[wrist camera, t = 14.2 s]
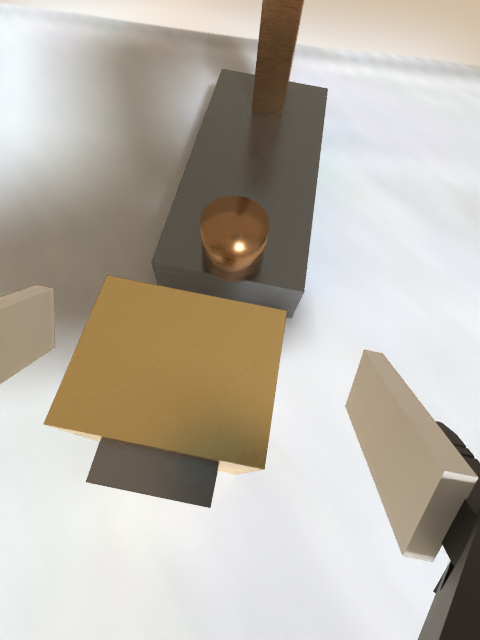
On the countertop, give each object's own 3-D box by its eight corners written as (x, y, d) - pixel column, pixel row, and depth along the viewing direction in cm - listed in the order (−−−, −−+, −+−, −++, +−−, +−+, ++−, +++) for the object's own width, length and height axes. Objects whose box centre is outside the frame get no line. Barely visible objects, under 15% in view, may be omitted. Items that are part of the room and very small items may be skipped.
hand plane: (316, 128, 31) (367, -48, 21) (290, 322, 22) (357, 187, 12) (221, 110, 31) (224, -73, 21) (159, 296, 22) (111, 140, 12)
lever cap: (247, 401, 20) (286, 310, 9) (230, 494, 18) (257, 521, 7) (164, 384, 20) (106, 275, 9) (139, 475, 18) (22, 472, 7)
